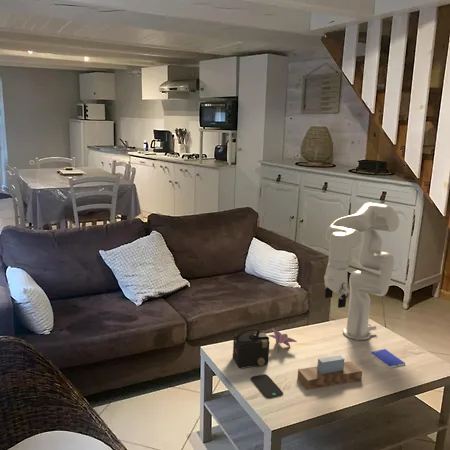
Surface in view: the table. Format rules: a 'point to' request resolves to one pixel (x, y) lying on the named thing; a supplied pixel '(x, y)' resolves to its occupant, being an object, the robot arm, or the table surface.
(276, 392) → the smartphone
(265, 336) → the camera
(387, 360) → the hard drive
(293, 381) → the table surface
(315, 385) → the brown block with holes
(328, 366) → the light blue arch block
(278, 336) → the lily
